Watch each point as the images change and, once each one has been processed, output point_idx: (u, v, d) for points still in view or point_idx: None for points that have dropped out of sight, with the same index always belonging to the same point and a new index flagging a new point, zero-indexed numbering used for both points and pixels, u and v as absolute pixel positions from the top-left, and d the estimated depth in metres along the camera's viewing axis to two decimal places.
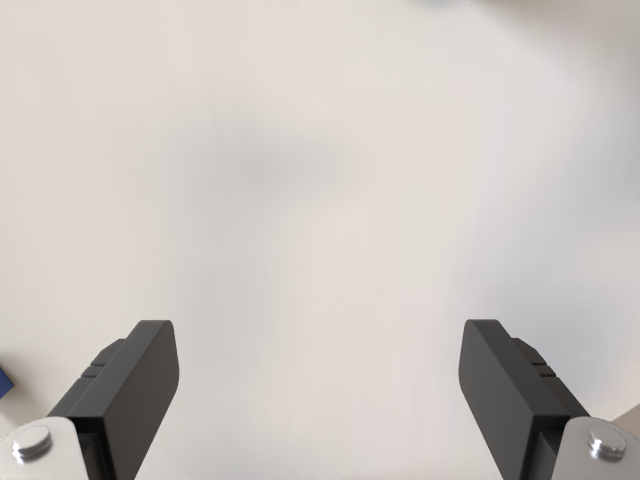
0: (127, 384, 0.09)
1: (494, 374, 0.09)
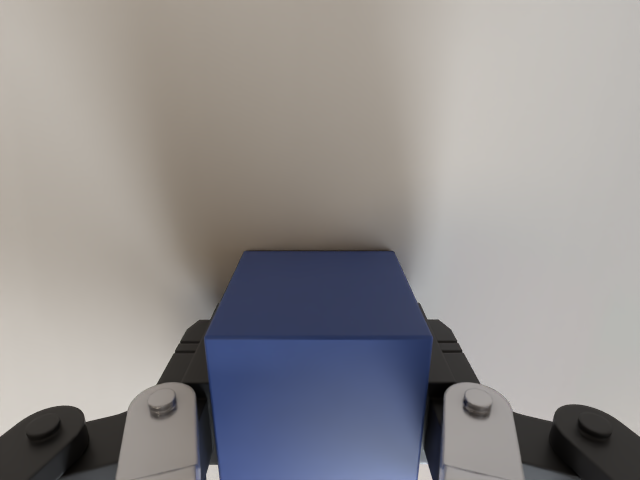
0: None
1: None
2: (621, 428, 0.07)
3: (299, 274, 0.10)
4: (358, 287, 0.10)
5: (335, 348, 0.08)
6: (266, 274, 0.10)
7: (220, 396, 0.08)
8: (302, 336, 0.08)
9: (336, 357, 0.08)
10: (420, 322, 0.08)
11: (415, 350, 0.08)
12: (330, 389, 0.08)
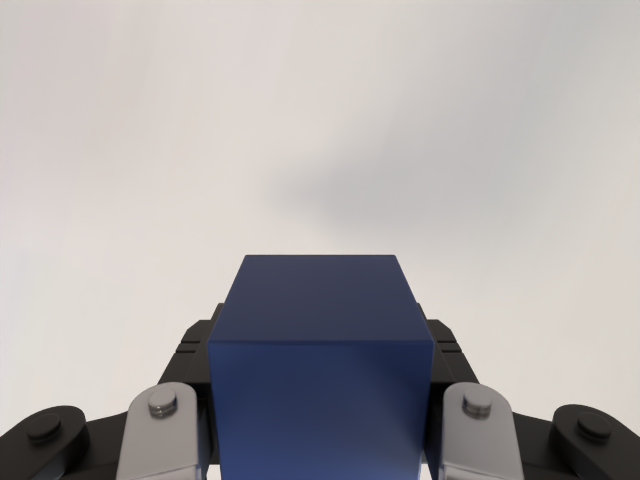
0: None
1: None
2: (620, 428, 0.07)
3: (301, 278, 0.10)
4: (360, 292, 0.10)
5: (338, 354, 0.08)
6: (268, 278, 0.10)
7: (222, 401, 0.08)
8: (305, 342, 0.08)
9: (338, 362, 0.08)
10: (422, 327, 0.08)
11: (417, 355, 0.08)
12: (332, 394, 0.08)
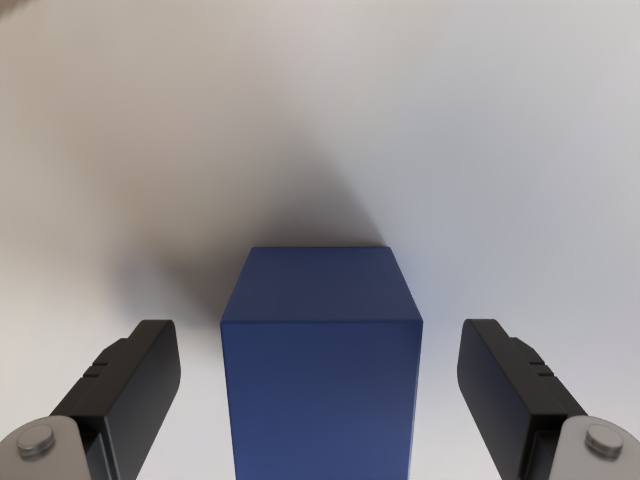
0: (129, 383, 0.09)
1: (492, 373, 0.09)
2: None
3: (303, 267, 0.11)
4: (357, 279, 0.11)
5: (336, 331, 0.09)
6: (273, 268, 0.11)
7: (234, 375, 0.09)
8: (307, 320, 0.09)
9: (337, 339, 0.09)
10: (412, 308, 0.09)
11: (407, 332, 0.09)
12: (332, 368, 0.09)
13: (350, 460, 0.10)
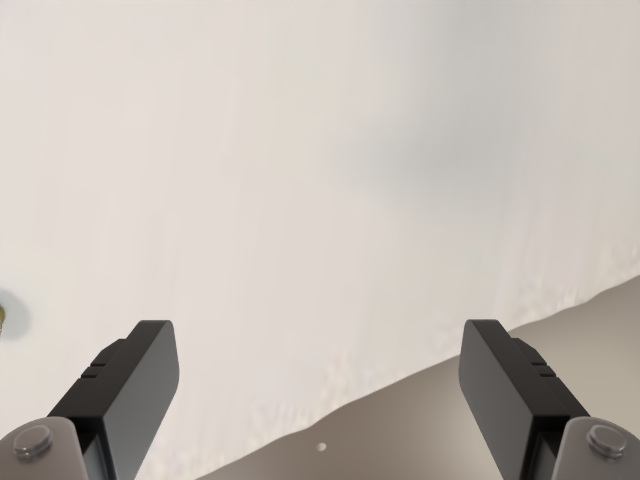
0: (127, 384, 0.09)
1: (494, 374, 0.09)
2: None
3: None
4: None
5: None
6: None
7: None
8: None
9: None
10: None
11: None
12: None
13: None
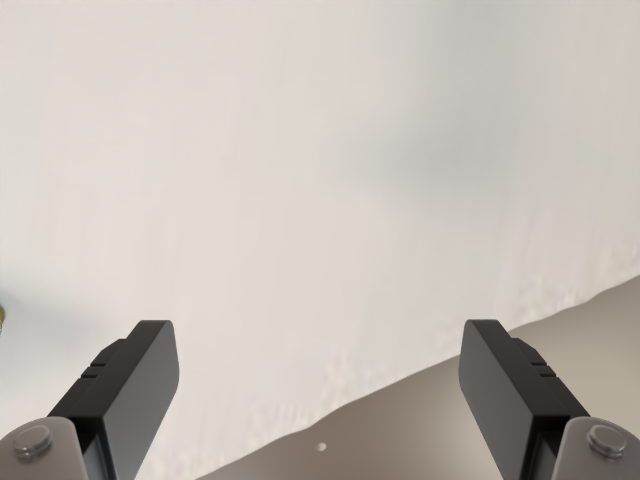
0: (127, 384, 0.09)
1: (494, 374, 0.09)
2: None
3: None
4: None
5: None
6: None
7: None
8: None
9: None
10: None
11: None
12: None
13: None
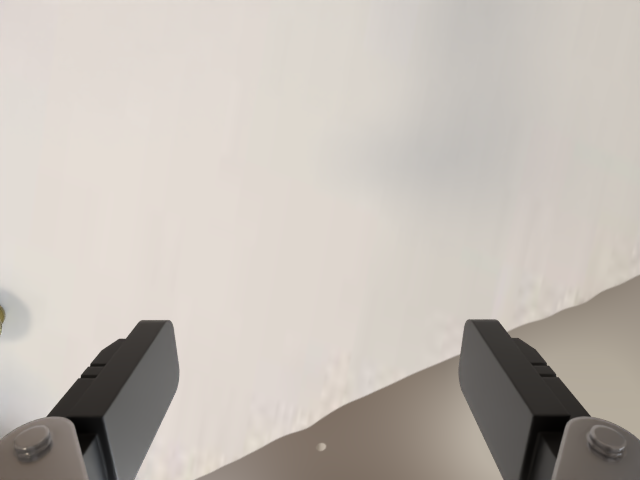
0: (127, 384, 0.09)
1: (494, 374, 0.09)
2: None
3: None
4: None
5: None
6: None
7: None
8: None
9: None
10: None
11: None
12: None
13: None
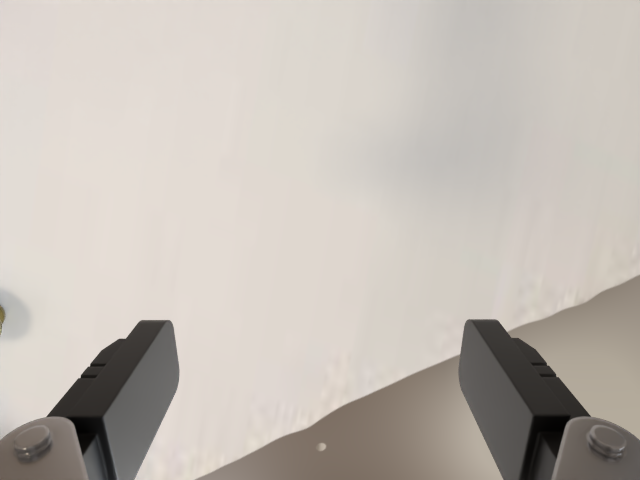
0: (127, 384, 0.09)
1: (494, 374, 0.09)
2: None
3: None
4: None
5: None
6: None
7: None
8: None
9: None
10: None
11: None
12: None
13: None
